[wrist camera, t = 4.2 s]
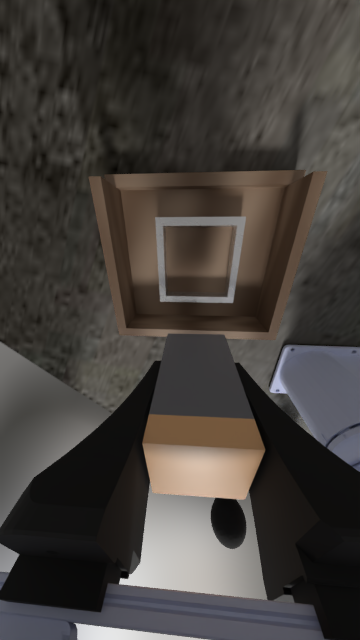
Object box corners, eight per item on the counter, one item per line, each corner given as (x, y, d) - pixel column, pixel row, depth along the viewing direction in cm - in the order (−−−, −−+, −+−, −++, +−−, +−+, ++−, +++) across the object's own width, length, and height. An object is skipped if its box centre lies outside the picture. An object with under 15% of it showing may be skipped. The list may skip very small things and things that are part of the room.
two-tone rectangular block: (224, 334, 11) (265, 449, 5) (218, 376, 13) (244, 499, 7) (167, 333, 12) (142, 443, 5) (170, 374, 13) (152, 493, 7)
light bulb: (203, 471, 36) (207, 549, 27) (213, 458, 33) (221, 540, 24) (228, 476, 36) (241, 555, 27) (240, 464, 33) (258, 547, 24)
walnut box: (294, 176, 13) (332, 153, 10) (259, 321, 19) (275, 340, 15) (112, 180, 14) (85, 160, 10) (132, 317, 20) (119, 335, 16)
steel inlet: (240, 218, 14) (246, 216, 13) (229, 298, 17) (232, 303, 16) (158, 219, 14) (155, 217, 13) (162, 296, 18) (160, 301, 16)
